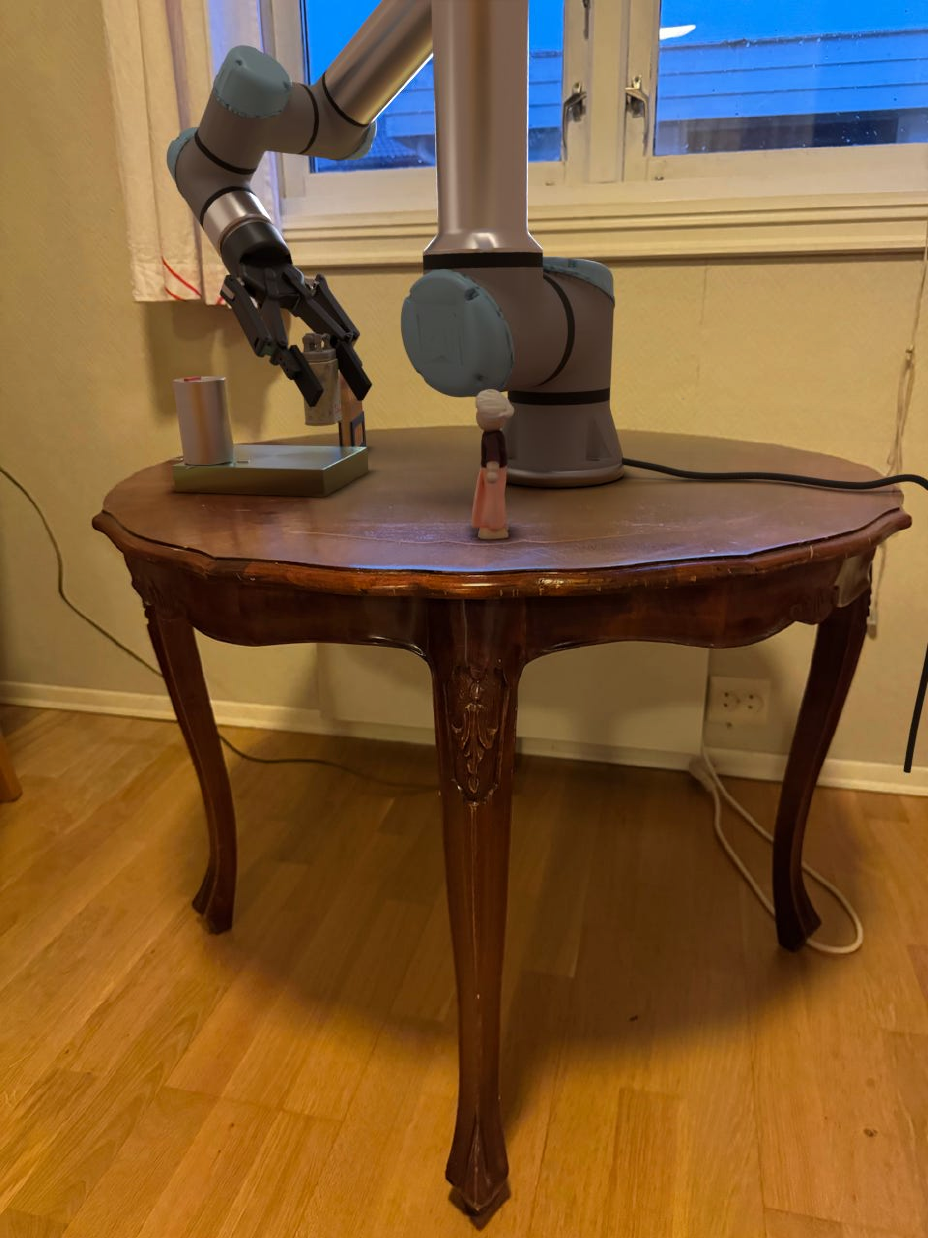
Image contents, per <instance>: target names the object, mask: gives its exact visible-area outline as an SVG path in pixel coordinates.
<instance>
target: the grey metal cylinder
mask: <svg viewBox="0 0 928 1238" xmlns="http://www.w3.org/2000/svg"><path fill="white" fill-rule="evenodd" d="M172 384H173V392H174V399H175V406H176V407H175V408H176V415H177V421H178V429H179V436H180V442H181V450H182V457H183V458H182V459H183V462H184V463H186V464H189V465H214V464H222V463H227V462H231V461H233V460H234V459H235V455H234V446H233V444H234V438H233V430H232V423H231V422H232V420H231V412H230V404H229V395H228V387H227V378H226V377H225V376H214V375H213V376H210V375H209V376H201V375H195V376H190V377H181V378H175V379H173V380H172Z"/></svg>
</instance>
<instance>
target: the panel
mask: <svg viewBox="0 0 928 1238" xmlns="http://www.w3.org/2000/svg"><path fill="white" fill-rule="evenodd" d="M233 446H234V455H235V459H234V460H233V461H231V462H227V463H222V464H214V465H189V464H186V463H184V459H183V458H170V459H169V461H175V462H179V461H180V462H179V463H176V464H173V465H171V468H172V475H173V483H174V489H175V490H174V491H175V493H191V494H192V493H193V494H219V495H220V494H221V495H222V494H223V495H250V496H251V495H252V496H253V495H254V496H279V497H280V496H282V497H309V498H310V497H311V498H326V497H328V496H329V495H331V494H333V493H334V492H336V491H338V490H339V489H341V488H343V487H345V486H346V485H348V484H350V483H352V482H353V481H355V480H357V479H359V478H360V477H362V476H364V475H365V474H367V473H368V472H370V471H369V455H368V447H340V445H339V446H338V445H337V446H335V445H332V446H331V445H288V444H287V445H283V444H281V445H280V444H279V445H278V444H236V443H235V444H234V443H233Z"/></svg>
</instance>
